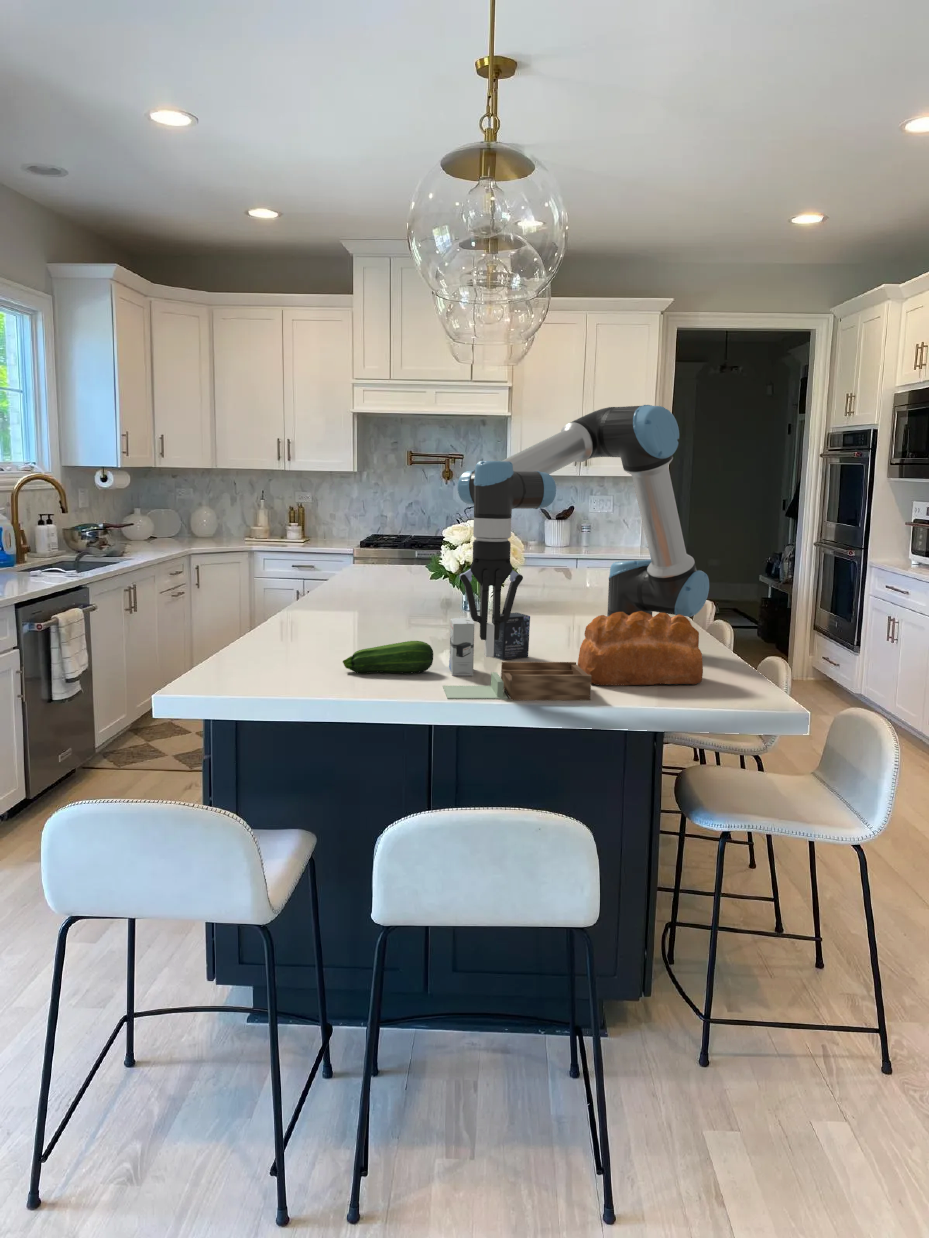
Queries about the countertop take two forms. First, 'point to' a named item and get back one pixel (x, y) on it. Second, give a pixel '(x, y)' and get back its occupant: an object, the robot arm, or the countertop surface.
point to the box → (513, 637)
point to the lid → (478, 690)
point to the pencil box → (545, 681)
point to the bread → (641, 650)
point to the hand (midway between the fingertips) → (488, 655)
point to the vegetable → (392, 658)
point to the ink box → (461, 647)
